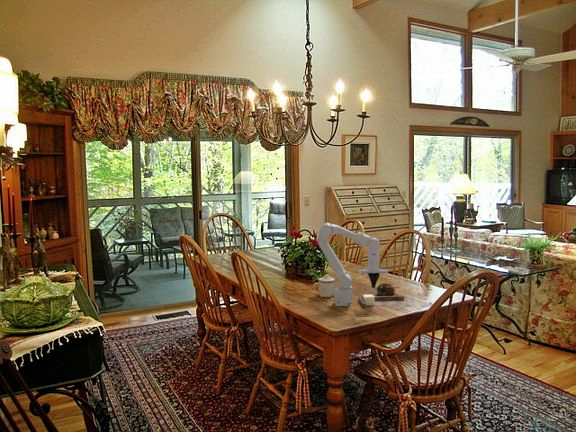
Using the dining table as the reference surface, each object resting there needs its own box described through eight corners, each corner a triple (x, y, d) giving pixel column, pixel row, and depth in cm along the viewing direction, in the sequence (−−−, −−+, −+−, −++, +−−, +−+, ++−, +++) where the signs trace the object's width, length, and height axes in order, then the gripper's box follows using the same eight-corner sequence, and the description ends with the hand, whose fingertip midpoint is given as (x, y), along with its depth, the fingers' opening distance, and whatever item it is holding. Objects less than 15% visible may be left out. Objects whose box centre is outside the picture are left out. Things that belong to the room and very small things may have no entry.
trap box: (363, 310, 240) (363, 303, 240) (358, 303, 253) (358, 296, 253) (410, 309, 241) (411, 302, 241) (403, 302, 254) (403, 295, 254)
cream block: (364, 305, 245) (364, 297, 244) (362, 302, 250) (362, 294, 249) (374, 304, 245) (374, 297, 244) (372, 302, 250) (372, 294, 249)
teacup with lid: (332, 292, 275) (332, 272, 273) (336, 297, 266) (336, 276, 264) (312, 293, 273) (312, 273, 272) (314, 298, 264) (314, 277, 263)
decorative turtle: (384, 302, 255) (383, 287, 255) (372, 296, 270) (371, 282, 269) (401, 299, 258) (400, 284, 257) (387, 294, 272) (386, 280, 272)
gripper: (361, 263, 243) (361, 289, 244) (389, 262, 244) (389, 289, 245) (358, 260, 250) (358, 286, 251) (386, 260, 251) (385, 285, 252)
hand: (373, 287), depth 249 cm, fingers closed
